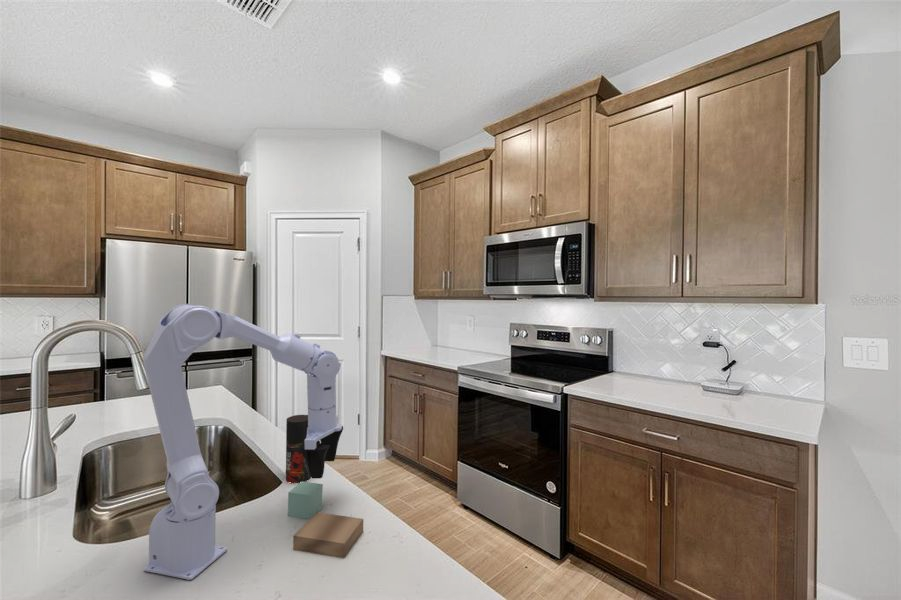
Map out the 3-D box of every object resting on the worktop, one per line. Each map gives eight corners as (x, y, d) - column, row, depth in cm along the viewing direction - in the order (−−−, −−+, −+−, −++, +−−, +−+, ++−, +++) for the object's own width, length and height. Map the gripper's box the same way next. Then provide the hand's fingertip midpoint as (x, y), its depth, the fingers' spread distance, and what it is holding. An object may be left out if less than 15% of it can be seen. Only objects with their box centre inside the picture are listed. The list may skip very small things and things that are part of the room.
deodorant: (315, 474, 103) (316, 416, 102) (301, 485, 97) (302, 423, 96) (295, 471, 104) (296, 413, 104) (280, 481, 98) (281, 420, 98)
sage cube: (287, 516, 84) (288, 492, 84) (301, 503, 89) (301, 481, 89) (309, 519, 83) (310, 495, 83) (322, 506, 88) (322, 484, 88)
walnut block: (293, 551, 73) (293, 535, 73) (316, 526, 81) (316, 512, 81) (344, 560, 71) (344, 543, 71) (363, 534, 79) (363, 518, 79)
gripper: (329, 417, 78) (330, 486, 78) (350, 396, 92) (351, 454, 93) (293, 417, 78) (295, 486, 79) (320, 396, 92) (321, 453, 93)
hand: (323, 468), depth 86 cm, fingers open, 7 cm apart
